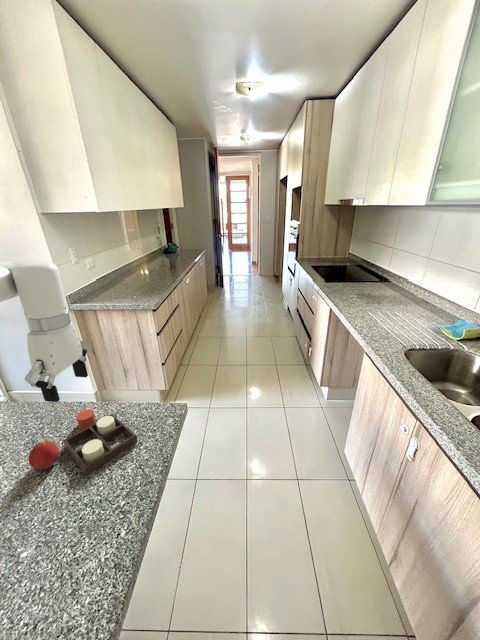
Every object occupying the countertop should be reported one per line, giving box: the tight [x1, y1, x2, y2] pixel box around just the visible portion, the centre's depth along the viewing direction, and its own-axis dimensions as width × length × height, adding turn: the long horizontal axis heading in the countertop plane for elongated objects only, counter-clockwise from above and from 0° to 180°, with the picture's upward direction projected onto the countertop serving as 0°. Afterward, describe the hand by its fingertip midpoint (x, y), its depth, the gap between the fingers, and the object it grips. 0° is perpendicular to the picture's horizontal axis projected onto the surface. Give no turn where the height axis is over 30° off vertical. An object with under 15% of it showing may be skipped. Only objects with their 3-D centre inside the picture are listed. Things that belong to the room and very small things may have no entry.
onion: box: [28, 440, 60, 470], centre depth 62 cm, size 6×6×8 cm
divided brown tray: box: [62, 413, 138, 477], centre depth 69 cm, size 13×13×3 cm
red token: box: [75, 409, 97, 430], centre depth 76 cm, size 4×4×4 cm
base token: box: [81, 439, 105, 465], centre depth 64 cm, size 4×4×4 cm
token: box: [96, 415, 117, 436], centre depth 72 cm, size 4×4×4 cm
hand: (68, 387), depth 62 cm, fingers open, 9 cm apart
